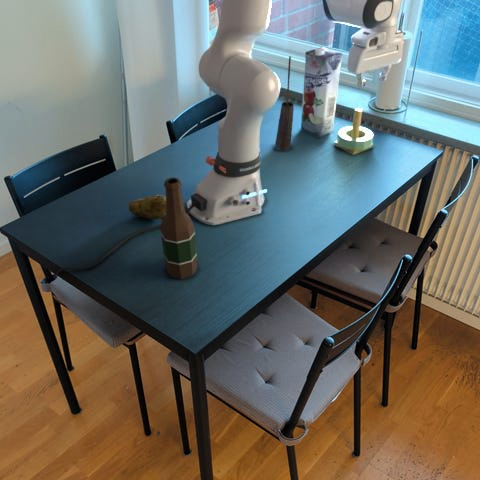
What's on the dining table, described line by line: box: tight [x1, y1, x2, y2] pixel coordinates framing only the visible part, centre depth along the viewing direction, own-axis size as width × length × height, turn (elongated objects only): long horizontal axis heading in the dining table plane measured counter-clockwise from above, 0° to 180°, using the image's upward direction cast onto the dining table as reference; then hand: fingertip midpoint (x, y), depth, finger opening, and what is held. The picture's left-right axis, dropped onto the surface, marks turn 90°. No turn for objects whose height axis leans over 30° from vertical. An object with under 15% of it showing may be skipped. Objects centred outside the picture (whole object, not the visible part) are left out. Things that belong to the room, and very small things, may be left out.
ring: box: [336, 126, 375, 150], centre depth 173 cm, size 11×11×3 cm
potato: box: [128, 194, 167, 221], centre depth 142 cm, size 8×13×8 cm, turn 43°
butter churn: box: [274, 55, 295, 152], centre depth 164 cm, size 9×10×28 cm
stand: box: [333, 107, 374, 156], centre depth 170 cm, size 9×9×12 cm
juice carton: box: [300, 46, 343, 138], centre depth 174 cm, size 9×10×27 cm
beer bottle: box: [160, 177, 198, 280], centre depth 120 cm, size 8×8×24 cm
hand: (371, 83), depth 163 cm, fingers open, 8 cm apart
